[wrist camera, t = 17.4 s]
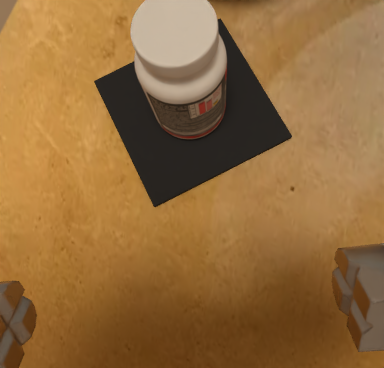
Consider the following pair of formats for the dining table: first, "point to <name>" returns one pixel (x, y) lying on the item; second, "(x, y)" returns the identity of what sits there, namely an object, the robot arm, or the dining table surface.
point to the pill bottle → (181, 64)
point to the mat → (192, 148)
